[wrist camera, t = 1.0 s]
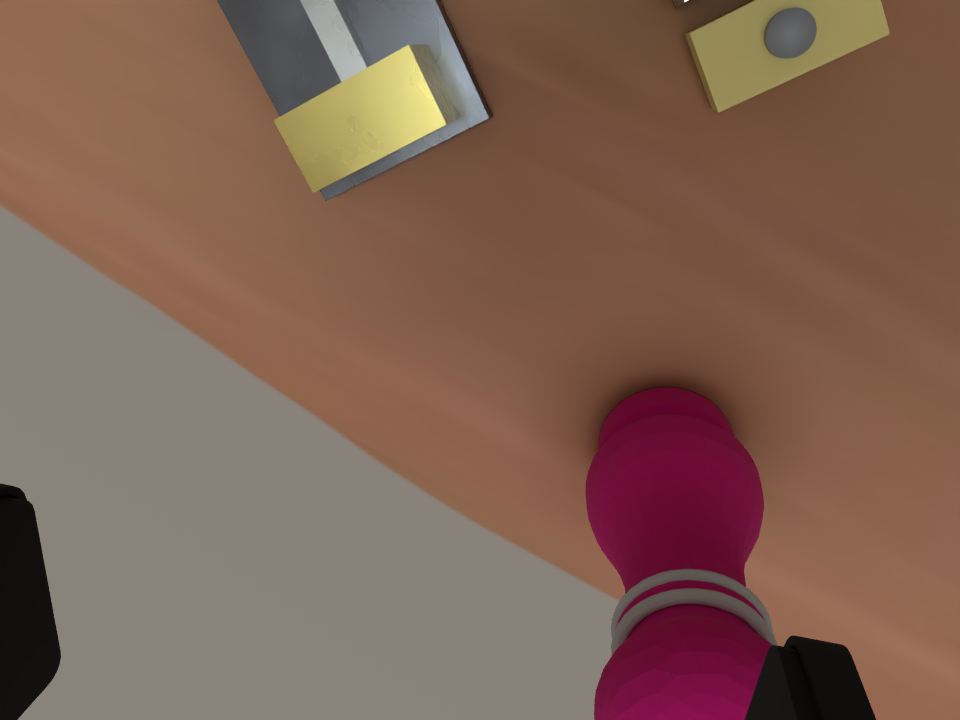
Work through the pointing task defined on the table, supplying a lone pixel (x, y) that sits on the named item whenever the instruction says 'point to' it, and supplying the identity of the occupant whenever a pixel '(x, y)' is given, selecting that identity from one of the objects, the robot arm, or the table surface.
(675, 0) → the link
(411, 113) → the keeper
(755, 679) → the pepper mill
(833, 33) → the block
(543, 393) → the table surface
